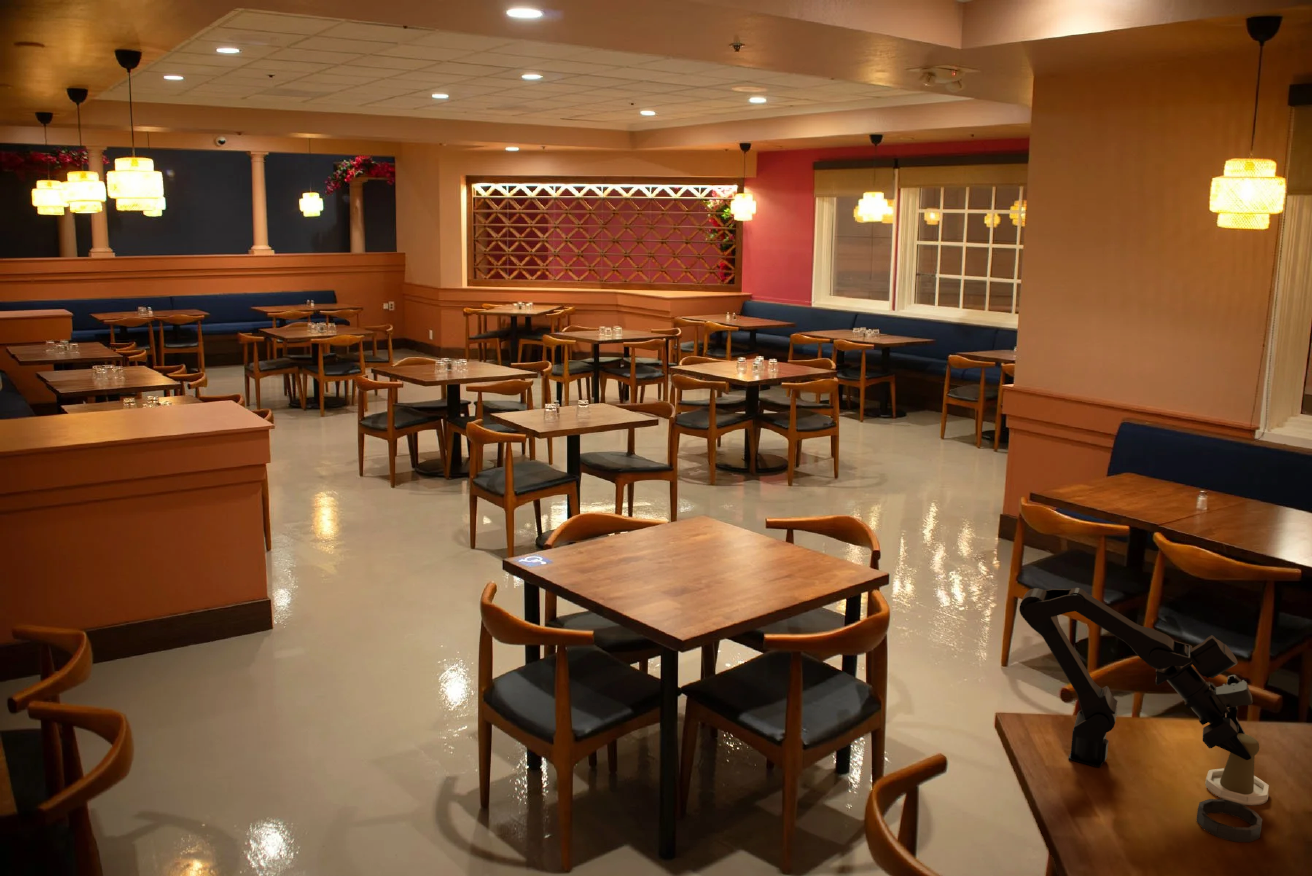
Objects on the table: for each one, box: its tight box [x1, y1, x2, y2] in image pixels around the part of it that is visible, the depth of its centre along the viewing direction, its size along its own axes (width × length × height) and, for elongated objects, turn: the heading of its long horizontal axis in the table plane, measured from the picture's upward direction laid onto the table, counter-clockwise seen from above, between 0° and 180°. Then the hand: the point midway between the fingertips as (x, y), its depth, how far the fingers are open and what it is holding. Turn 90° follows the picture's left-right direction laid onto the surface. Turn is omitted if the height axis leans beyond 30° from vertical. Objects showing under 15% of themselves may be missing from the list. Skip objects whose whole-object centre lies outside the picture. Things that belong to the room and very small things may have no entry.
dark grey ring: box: [1195, 798, 1263, 843], centre depth 199 cm, size 11×11×2 cm
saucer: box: [1205, 767, 1270, 806], centre depth 212 cm, size 11×11×2 cm
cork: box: [1220, 733, 1260, 795], centre depth 211 cm, size 6×6×11 cm
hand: (1249, 751), depth 210 cm, fingers open, 6 cm apart
